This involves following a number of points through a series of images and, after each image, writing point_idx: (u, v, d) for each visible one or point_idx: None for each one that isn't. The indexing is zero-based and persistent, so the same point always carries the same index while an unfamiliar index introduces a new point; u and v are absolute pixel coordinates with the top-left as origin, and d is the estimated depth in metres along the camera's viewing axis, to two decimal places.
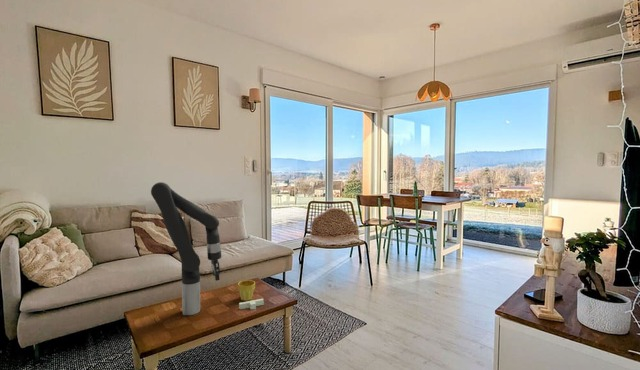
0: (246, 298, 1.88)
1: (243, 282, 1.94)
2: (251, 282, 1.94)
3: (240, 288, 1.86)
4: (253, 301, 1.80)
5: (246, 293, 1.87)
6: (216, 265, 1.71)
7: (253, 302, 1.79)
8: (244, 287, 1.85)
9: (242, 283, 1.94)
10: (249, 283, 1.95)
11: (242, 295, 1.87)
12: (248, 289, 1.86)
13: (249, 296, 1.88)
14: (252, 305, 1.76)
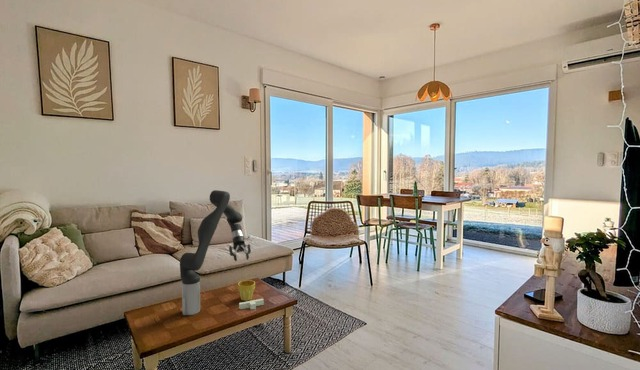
0: (246, 298, 1.88)
1: (243, 282, 1.94)
2: (251, 282, 1.94)
3: (240, 288, 1.86)
4: (253, 301, 1.80)
5: (246, 293, 1.87)
6: None
7: (253, 302, 1.79)
8: (244, 287, 1.85)
9: (242, 283, 1.94)
10: (249, 283, 1.95)
11: (242, 295, 1.87)
12: (248, 289, 1.86)
13: (249, 296, 1.88)
14: (252, 305, 1.76)
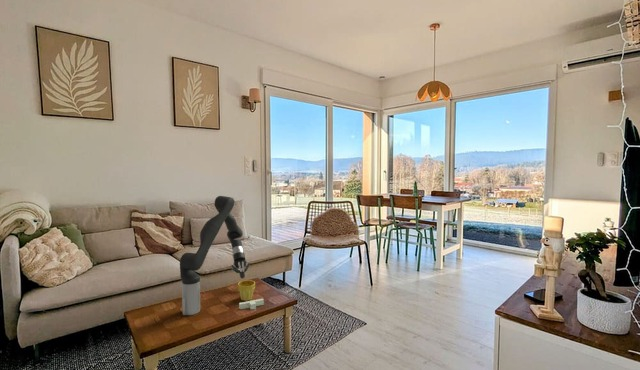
0: (246, 298, 1.88)
1: (243, 282, 1.94)
2: (251, 282, 1.94)
3: (240, 288, 1.86)
4: (253, 301, 1.80)
5: (246, 293, 1.87)
6: (249, 265, 2.07)
7: (253, 302, 1.79)
8: (244, 287, 1.85)
9: (242, 283, 1.94)
10: (249, 283, 1.95)
11: (242, 295, 1.87)
12: (248, 289, 1.86)
13: (249, 296, 1.88)
14: (252, 305, 1.76)
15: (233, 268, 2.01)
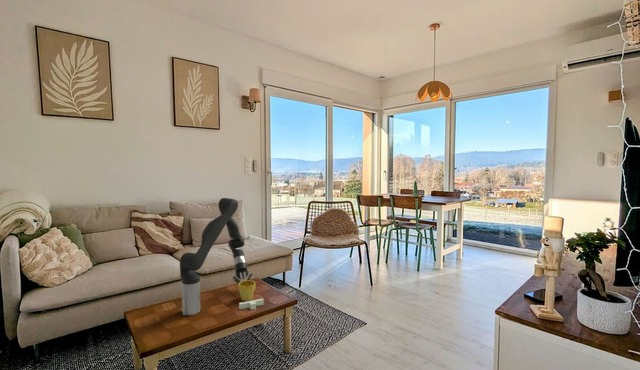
0: (246, 298, 1.87)
1: (243, 282, 1.94)
2: (251, 282, 1.94)
3: (240, 288, 1.86)
4: (253, 301, 1.80)
5: (246, 294, 1.86)
6: (251, 275, 2.02)
7: (253, 302, 1.79)
8: (244, 287, 1.85)
9: (242, 283, 1.93)
10: (249, 283, 1.95)
11: (242, 295, 1.87)
12: (248, 289, 1.86)
13: (249, 296, 1.88)
14: (252, 305, 1.76)
15: (235, 279, 1.96)
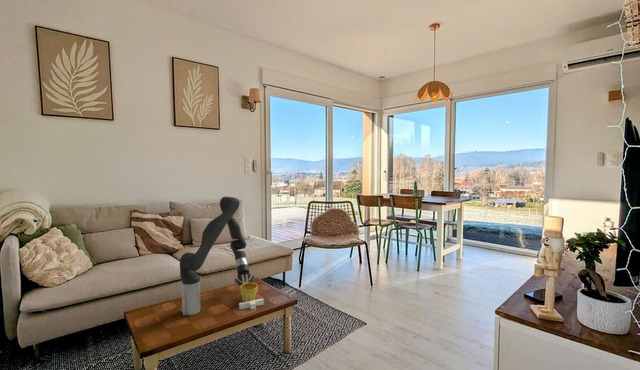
0: None
1: (245, 285, 1.90)
2: (254, 285, 1.90)
3: (242, 291, 1.82)
4: (253, 301, 1.80)
5: (249, 297, 1.82)
6: (253, 278, 1.98)
7: (253, 302, 1.79)
8: (246, 290, 1.81)
9: (244, 286, 1.89)
10: (252, 286, 1.90)
11: (244, 298, 1.83)
12: (250, 292, 1.81)
13: (251, 299, 1.84)
14: (252, 305, 1.76)
15: (237, 281, 1.92)
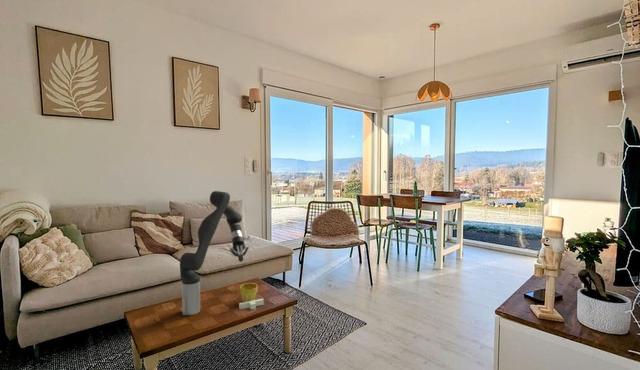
0: None
1: (245, 285, 1.89)
2: (254, 285, 1.90)
3: (242, 291, 1.82)
4: (253, 301, 1.80)
5: (249, 297, 1.82)
6: None
7: (253, 302, 1.79)
8: (246, 290, 1.81)
9: (244, 286, 1.89)
10: (251, 286, 1.90)
11: (244, 298, 1.83)
12: (250, 292, 1.81)
13: (251, 299, 1.84)
14: (252, 305, 1.76)
15: (232, 251, 2.03)
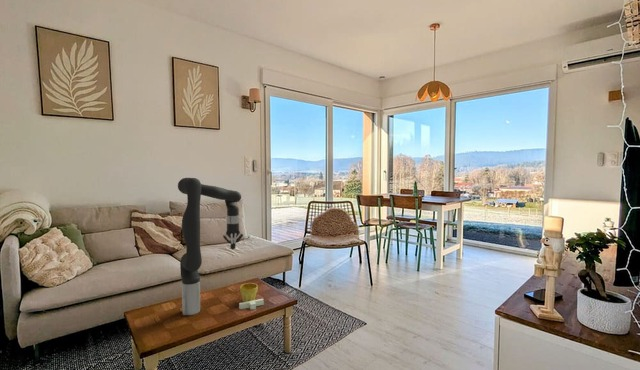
0: None
1: (245, 285, 1.89)
2: (254, 285, 1.90)
3: (242, 291, 1.82)
4: (253, 301, 1.80)
5: (249, 297, 1.82)
6: None
7: (253, 302, 1.79)
8: (246, 290, 1.81)
9: (244, 286, 1.89)
10: (251, 286, 1.90)
11: (244, 298, 1.83)
12: (250, 292, 1.81)
13: (251, 299, 1.84)
14: (252, 305, 1.76)
15: (225, 239, 1.93)
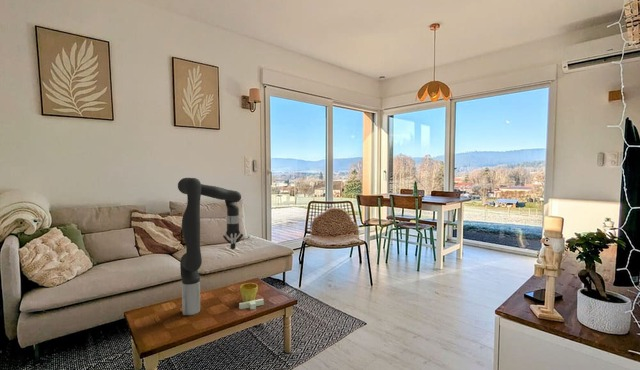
0: None
1: (245, 285, 1.89)
2: (254, 285, 1.90)
3: (242, 291, 1.82)
4: (253, 301, 1.80)
5: (249, 297, 1.82)
6: None
7: (253, 302, 1.79)
8: (246, 290, 1.81)
9: (244, 286, 1.89)
10: (251, 286, 1.90)
11: (244, 298, 1.83)
12: (250, 292, 1.81)
13: (251, 299, 1.84)
14: (252, 305, 1.76)
15: (225, 239, 1.93)
